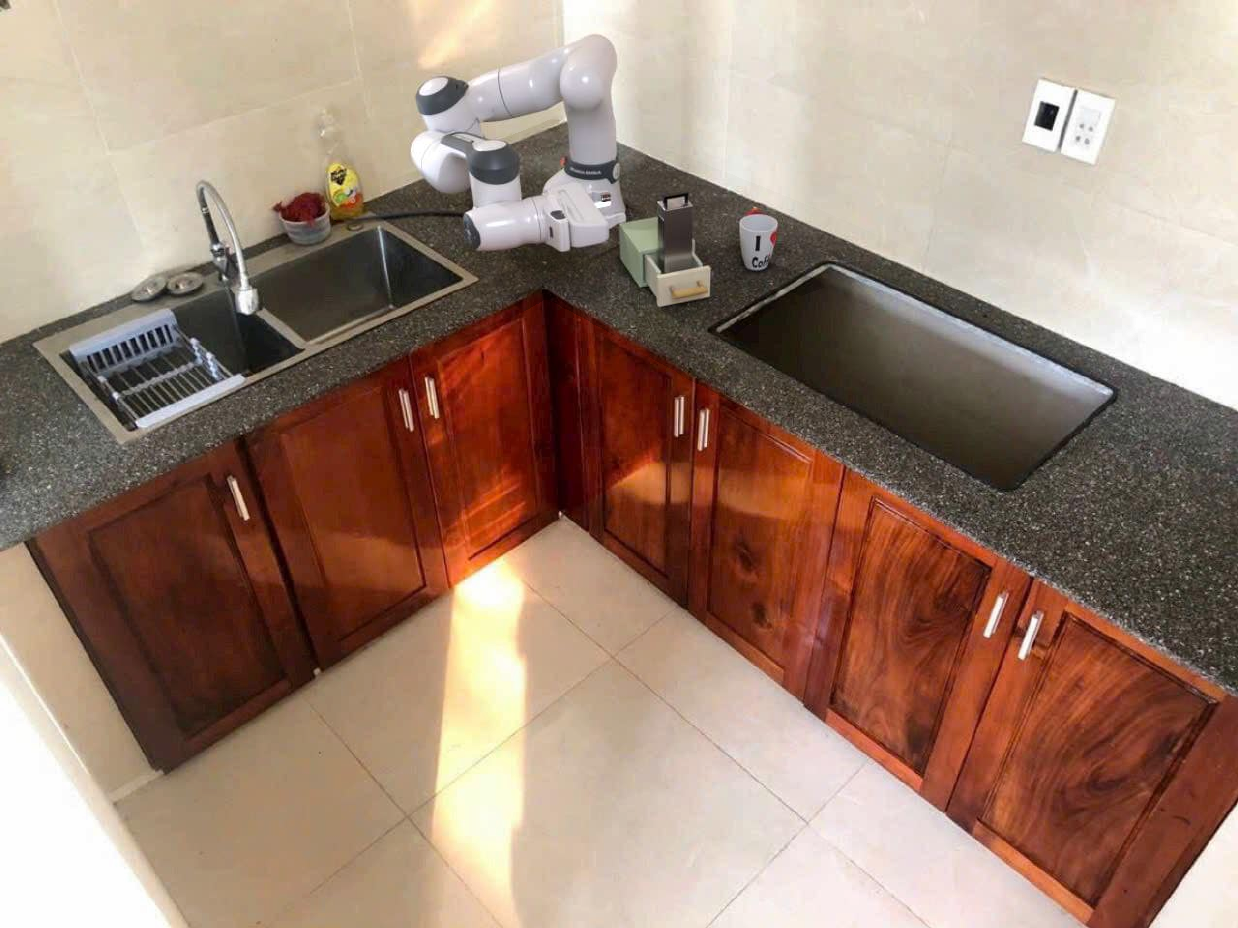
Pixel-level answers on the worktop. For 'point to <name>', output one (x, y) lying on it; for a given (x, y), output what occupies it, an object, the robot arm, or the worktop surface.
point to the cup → (757, 240)
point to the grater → (675, 232)
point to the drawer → (676, 281)
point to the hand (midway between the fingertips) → (617, 205)
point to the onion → (754, 212)
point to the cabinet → (639, 245)
